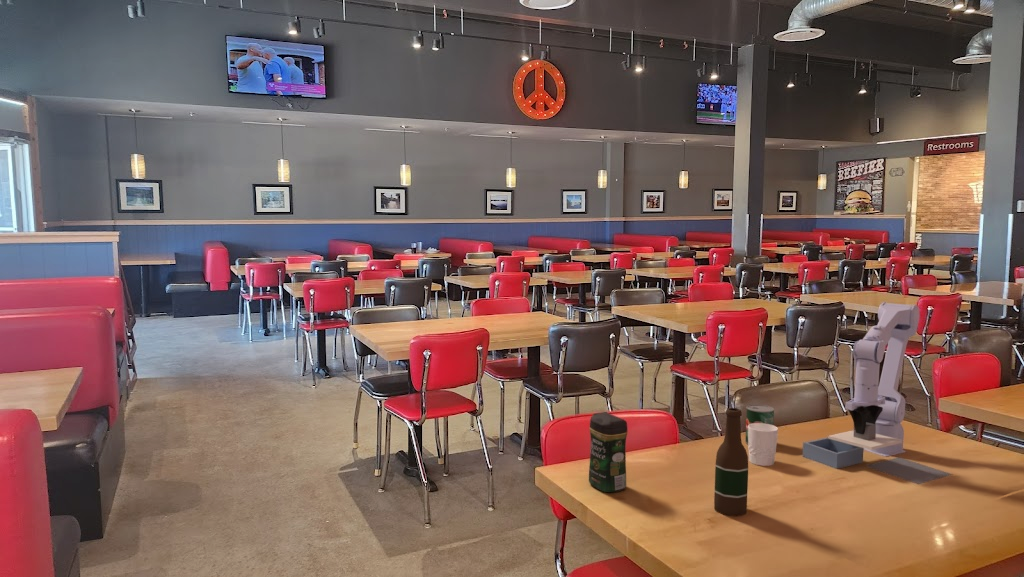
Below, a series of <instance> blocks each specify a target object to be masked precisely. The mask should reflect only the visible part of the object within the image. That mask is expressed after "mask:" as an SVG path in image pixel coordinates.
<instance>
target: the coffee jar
mask: <svg viewBox="0 0 1024 577" xmlns="http://www.w3.org/2000/svg"><path fill="white" fill-rule="evenodd" d="M589 434H590V450H589V451H590V453H589V456H590V457H589V465H588V467H589V469H588V483H589V484H590V485H591V486H592V487H594V488H595V489H598V490H600V491H601V492H604V493H619V492H620V491H623V490H625V489H626V487H627V466H626V465H627V462H626V457H627V456H626V452H627V451H626V443H627V437H628V422H627V420H625V419H623V418H621V417H619V416H616V415H614V414H611V413H608V412H607V411H601V412H596V413H593V414H592V416H591V417H590V422H589Z"/></svg>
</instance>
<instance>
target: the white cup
mask: <svg viewBox="0 0 1024 577" xmlns="http://www.w3.org/2000/svg"><path fill="white" fill-rule="evenodd" d="M778 433H779V428H778V427H777V426H776V425H774V424H773V425H770V424H764V423H752V424H749V425H748V444H747V449H748V450H747V451H748V462H749V463H751V464H753V465H756V466H761V467H763V466H764V467H770V466H773V465H774V464H775V458H776V454H777V453H776V452H777V444H778V435H779V434H778Z"/></svg>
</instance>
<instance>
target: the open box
mask: <svg viewBox="0 0 1024 577" xmlns="http://www.w3.org/2000/svg"><path fill="white" fill-rule="evenodd" d="M864 451H865V450H864V448H862V447H858V446H854V445H850V444H847V443H843V442H839V441H835V440H832V439H828V436H827V437H823V438H817V439H814V440H808V441H803V442H802V457H803V458H805V459H808V460H811V461H813V462H816V463H818V464H821V465H825V466H827V467H830V468H833V469H835V470H836V469H837V470H839V469H841V468H846V467H851V466H853V465H855V466H856V465H858V464H862V463H863V462H864Z"/></svg>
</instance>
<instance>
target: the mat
mask: <svg viewBox="0 0 1024 577" xmlns="http://www.w3.org/2000/svg"><path fill="white" fill-rule="evenodd" d="M865 467H867V468H870V469H873V470H876V471H878V472H882V473H885V474H887V475H891V476H893V477H896V478H899V479H902V480H905V481H908V482H911V483H913V484H916V485H921V484H924V483H927V482H930V481H935V480H939V479H941V478H945V477H950V476H952V475H953V473H950V472H948V471H944V470H940V469H937V468H934V467H931V466H928V465H926V464H921V463H919V462H916V461H912V460H909V459H905V458H903V457H895V458H891V459H886V460H882V461H878V462H875V463H870V464H866V465H865Z"/></svg>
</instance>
